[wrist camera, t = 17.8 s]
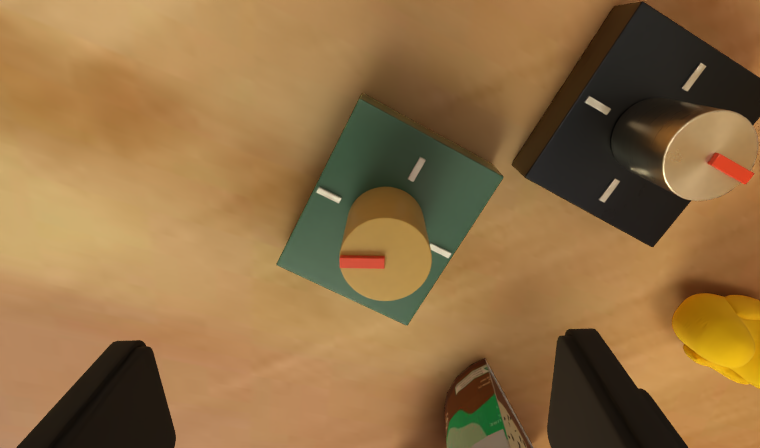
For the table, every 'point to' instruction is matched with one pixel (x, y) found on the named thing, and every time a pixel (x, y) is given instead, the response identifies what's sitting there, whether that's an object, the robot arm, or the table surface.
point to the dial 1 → (385, 245)
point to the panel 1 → (389, 169)
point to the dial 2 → (686, 147)
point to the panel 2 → (610, 101)
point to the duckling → (722, 334)
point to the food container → (481, 412)
